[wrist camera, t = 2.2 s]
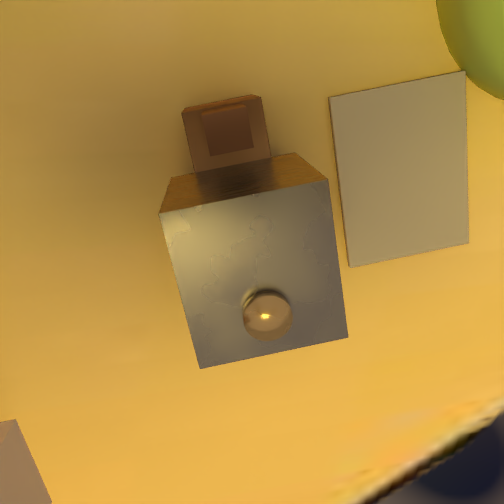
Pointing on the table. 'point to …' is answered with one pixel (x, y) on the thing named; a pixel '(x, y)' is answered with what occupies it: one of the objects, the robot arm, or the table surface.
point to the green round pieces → (476, 40)
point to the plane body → (226, 132)
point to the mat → (402, 167)
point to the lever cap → (255, 258)
